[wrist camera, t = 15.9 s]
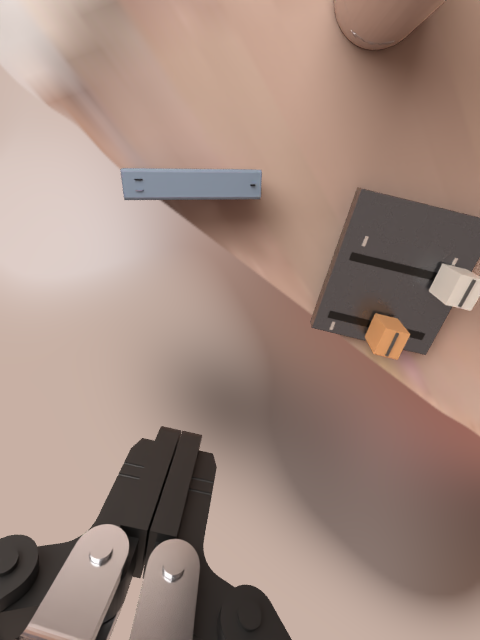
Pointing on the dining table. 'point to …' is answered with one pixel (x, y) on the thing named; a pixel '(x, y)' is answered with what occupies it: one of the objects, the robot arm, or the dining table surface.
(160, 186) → the toy
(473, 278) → the fader white
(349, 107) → the dining table surface
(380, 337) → the fader orange
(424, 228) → the console
